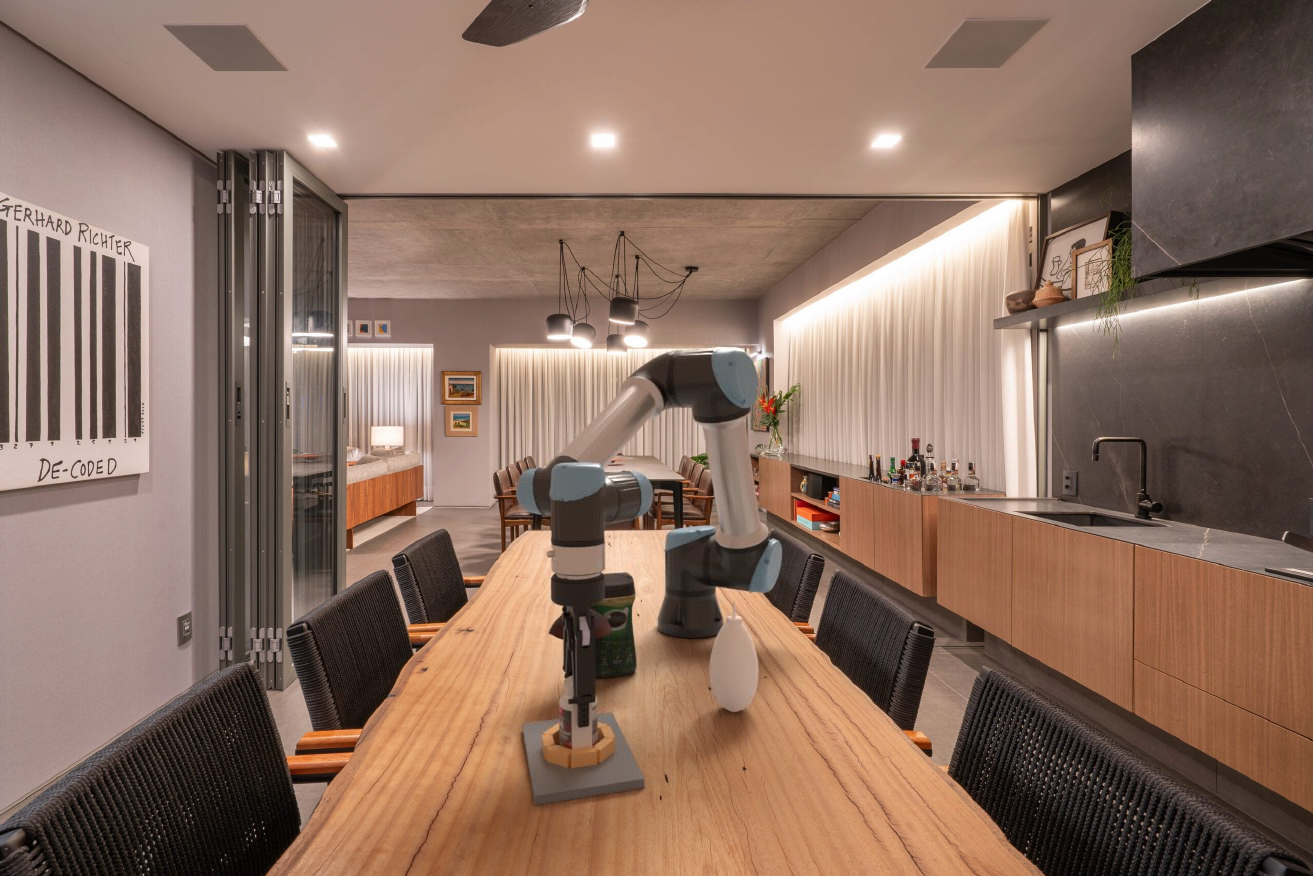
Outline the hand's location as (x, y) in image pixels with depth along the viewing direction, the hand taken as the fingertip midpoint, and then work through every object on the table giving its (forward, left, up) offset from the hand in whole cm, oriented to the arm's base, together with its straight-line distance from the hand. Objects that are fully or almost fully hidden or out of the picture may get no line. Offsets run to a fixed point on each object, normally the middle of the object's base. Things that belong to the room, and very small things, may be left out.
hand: (578, 736), depth 91 cm
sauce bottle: (-27, -8, -3) cm, 28 cm away
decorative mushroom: (-4, -22, -3) cm, 23 cm away
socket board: (0, 0, -3) cm, 3 cm away
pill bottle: (0, 0, -2) cm, 2 cm away
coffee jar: (-11, -30, -3) cm, 32 cm away
